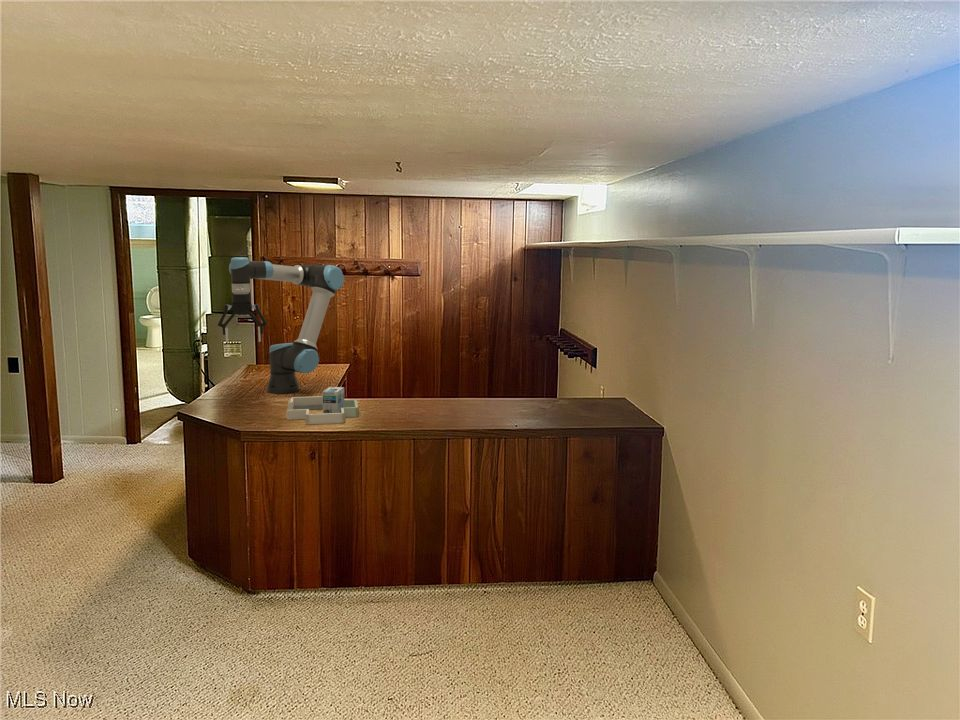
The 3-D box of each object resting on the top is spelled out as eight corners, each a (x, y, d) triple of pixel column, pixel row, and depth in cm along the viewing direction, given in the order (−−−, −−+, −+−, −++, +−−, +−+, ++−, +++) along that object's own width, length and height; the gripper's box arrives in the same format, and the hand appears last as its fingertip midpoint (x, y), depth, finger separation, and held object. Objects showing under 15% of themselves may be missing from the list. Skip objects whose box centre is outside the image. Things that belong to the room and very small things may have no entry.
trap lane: (289, 406, 321) (288, 397, 320) (355, 403, 327) (355, 394, 326) (285, 425, 288) (285, 415, 287) (359, 422, 294) (359, 412, 293)
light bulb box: (338, 417, 302) (337, 391, 300) (322, 416, 303) (321, 391, 301) (345, 411, 313) (344, 386, 311) (330, 410, 313) (329, 386, 312)
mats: (294, 406, 320) (294, 405, 320) (338, 404, 324) (338, 404, 324) (292, 424, 289) (292, 423, 289) (340, 422, 294) (340, 421, 294)
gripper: (209, 294, 306) (212, 343, 310) (270, 293, 312) (272, 342, 316) (211, 292, 313) (214, 341, 317) (271, 292, 319) (273, 339, 323)
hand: (243, 341), depth 316 cm, fingers open, 13 cm apart
